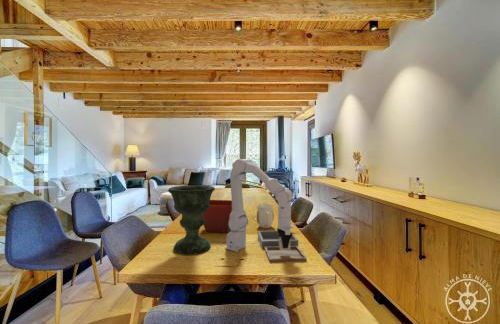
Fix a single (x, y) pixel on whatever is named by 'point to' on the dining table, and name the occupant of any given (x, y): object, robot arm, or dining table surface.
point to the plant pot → (217, 216)
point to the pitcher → (265, 215)
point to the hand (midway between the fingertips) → (284, 246)
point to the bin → (273, 239)
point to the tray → (284, 254)
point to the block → (282, 246)
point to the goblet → (191, 216)
